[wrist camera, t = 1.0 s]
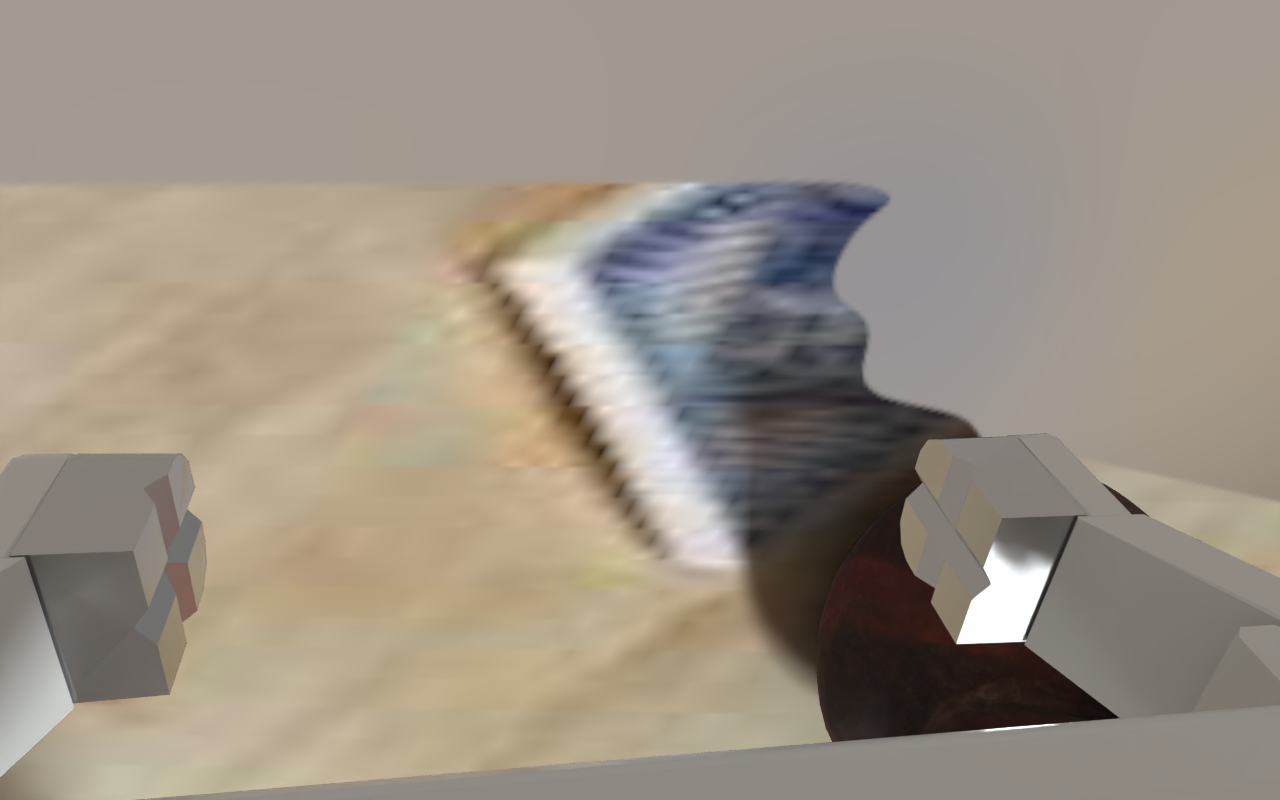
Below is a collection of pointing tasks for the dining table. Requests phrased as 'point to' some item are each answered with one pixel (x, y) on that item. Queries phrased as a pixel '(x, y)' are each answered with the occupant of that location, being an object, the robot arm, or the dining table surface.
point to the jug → (924, 656)
